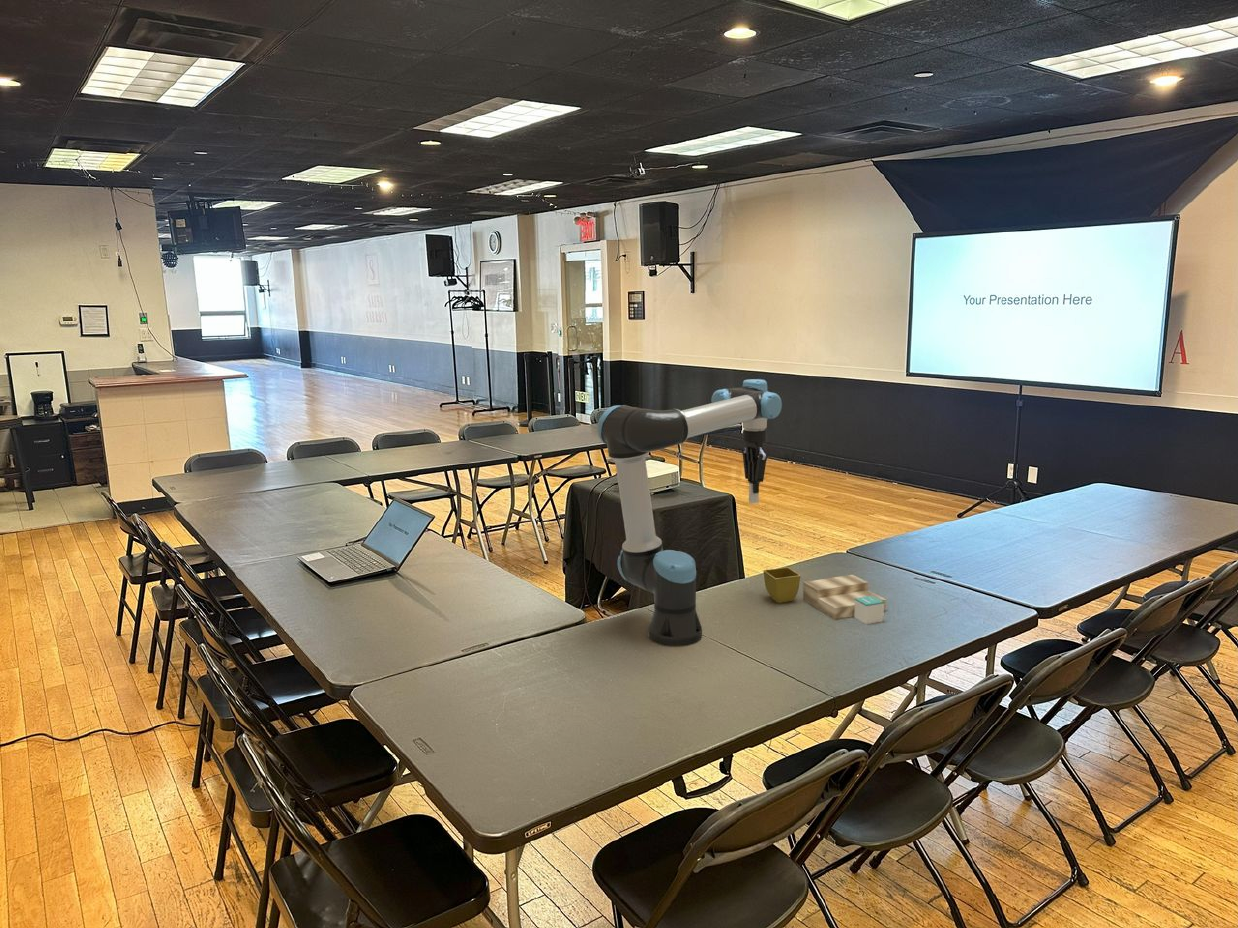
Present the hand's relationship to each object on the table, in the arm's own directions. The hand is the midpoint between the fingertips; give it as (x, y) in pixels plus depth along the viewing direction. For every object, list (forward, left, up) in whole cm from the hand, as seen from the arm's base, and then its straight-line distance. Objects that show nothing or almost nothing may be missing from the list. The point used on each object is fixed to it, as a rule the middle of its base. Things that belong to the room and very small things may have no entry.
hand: (753, 502), depth 254 cm
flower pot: (+4, -11, -30) cm, 32 cm away
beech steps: (+19, -22, -29) cm, 42 cm away
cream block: (+19, -35, -24) cm, 46 cm away
